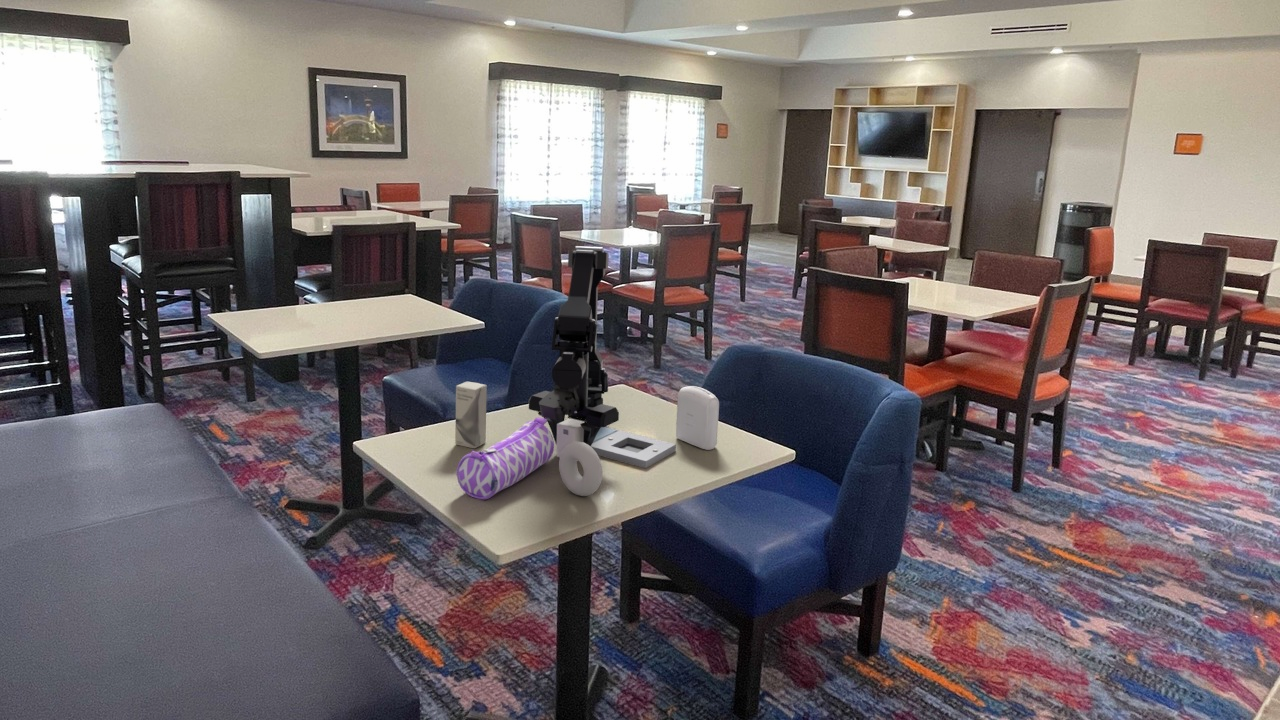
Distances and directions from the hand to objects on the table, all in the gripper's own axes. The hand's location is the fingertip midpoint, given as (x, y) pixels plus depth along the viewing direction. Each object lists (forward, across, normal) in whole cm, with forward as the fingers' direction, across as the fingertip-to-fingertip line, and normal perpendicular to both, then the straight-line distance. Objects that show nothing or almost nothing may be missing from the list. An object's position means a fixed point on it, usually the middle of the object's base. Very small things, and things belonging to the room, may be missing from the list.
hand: (572, 448), depth 168 cm
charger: (+2, 0, 0) cm, 2 cm away
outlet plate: (+2, +8, +10) cm, 13 cm away
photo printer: (+2, +16, +22) cm, 28 cm away
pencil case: (+2, -2, -18) cm, 18 cm away
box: (+2, -20, -8) cm, 22 cm away
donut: (+2, +12, -14) cm, 19 cm away
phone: (+2, -2, +12) cm, 12 cm away
